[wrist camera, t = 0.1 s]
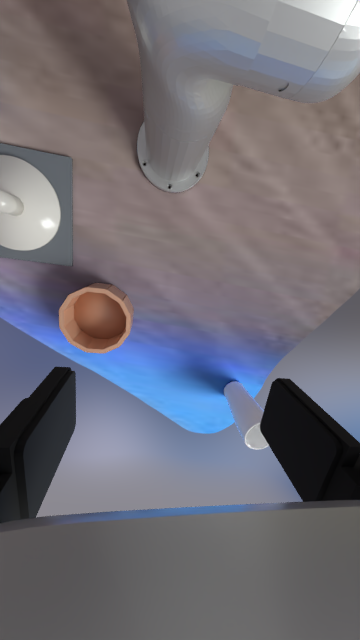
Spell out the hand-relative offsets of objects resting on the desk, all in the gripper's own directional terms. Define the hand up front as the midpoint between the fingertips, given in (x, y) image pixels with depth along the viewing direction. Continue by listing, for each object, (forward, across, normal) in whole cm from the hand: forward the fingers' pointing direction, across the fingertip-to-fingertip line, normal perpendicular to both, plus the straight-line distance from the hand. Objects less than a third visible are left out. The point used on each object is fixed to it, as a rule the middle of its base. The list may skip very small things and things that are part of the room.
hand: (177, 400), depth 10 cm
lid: (+36, +26, -11) cm, 46 cm away
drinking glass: (+37, -22, +24) cm, 49 cm away
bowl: (+37, +11, +7) cm, 39 cm away
